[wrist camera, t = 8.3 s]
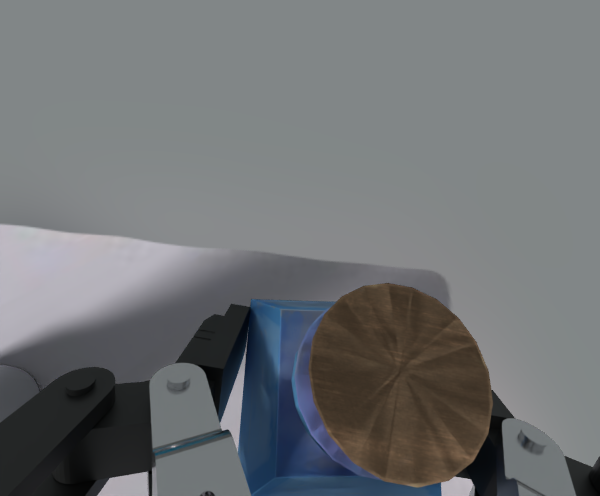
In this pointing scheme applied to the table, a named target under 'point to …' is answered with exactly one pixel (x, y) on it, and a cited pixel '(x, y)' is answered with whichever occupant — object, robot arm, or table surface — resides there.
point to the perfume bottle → (360, 396)
